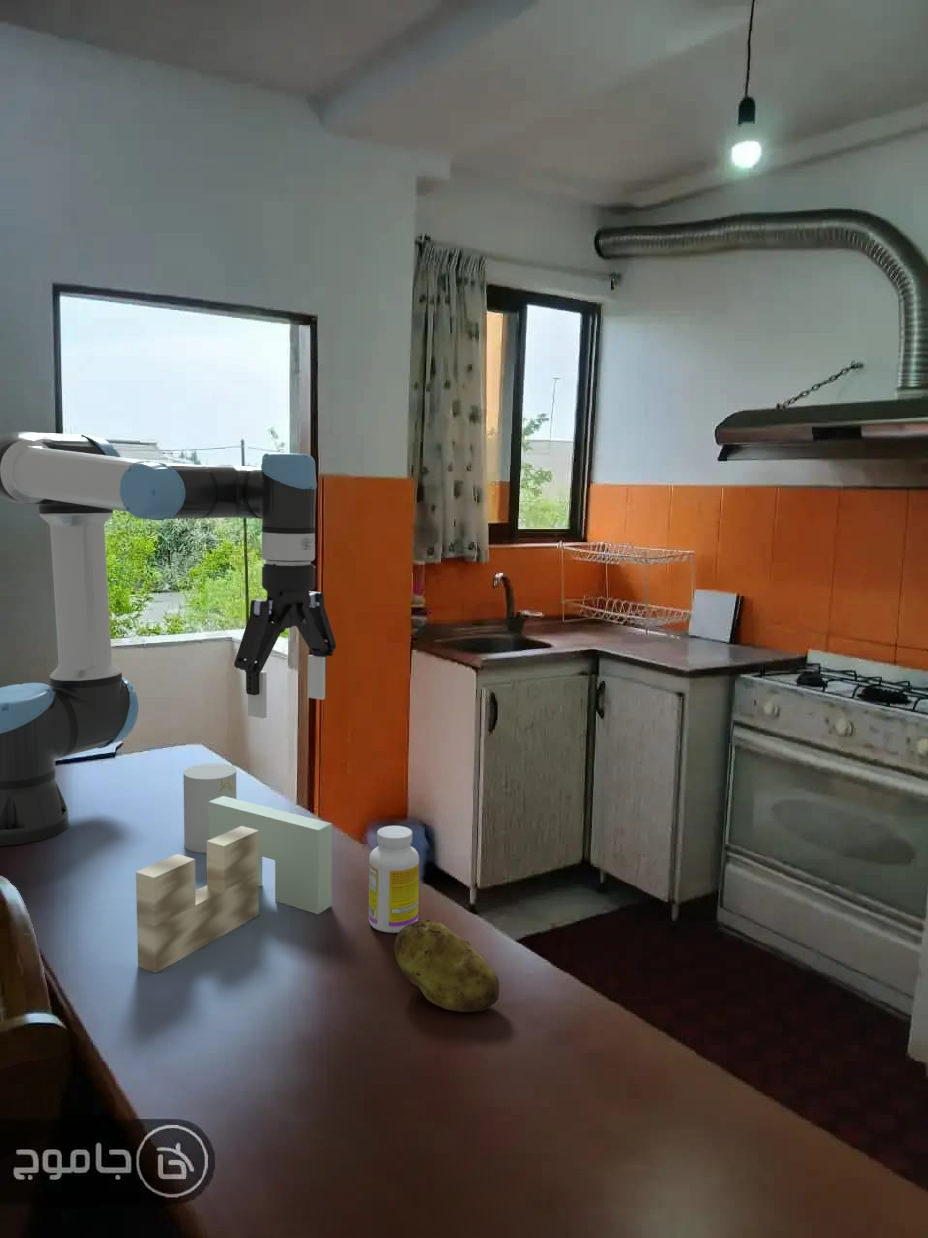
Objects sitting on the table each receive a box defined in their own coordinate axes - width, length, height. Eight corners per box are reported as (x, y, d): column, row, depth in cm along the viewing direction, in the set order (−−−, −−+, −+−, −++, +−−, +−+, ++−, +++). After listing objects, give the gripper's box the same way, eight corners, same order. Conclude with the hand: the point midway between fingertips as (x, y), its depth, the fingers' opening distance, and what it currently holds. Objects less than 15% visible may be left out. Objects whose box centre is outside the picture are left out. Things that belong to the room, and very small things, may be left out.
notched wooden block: (155, 973, 111) (153, 877, 109) (138, 966, 113) (135, 872, 111) (258, 915, 127) (258, 830, 125) (242, 909, 128) (241, 825, 126)
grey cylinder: (228, 853, 147) (228, 780, 145) (177, 851, 147) (176, 778, 145) (242, 834, 155) (241, 764, 153) (193, 832, 155) (192, 762, 153)
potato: (449, 1036, 101) (451, 966, 99) (382, 984, 110) (384, 920, 109) (507, 1011, 106) (510, 944, 104) (439, 963, 116) (440, 902, 114)
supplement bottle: (426, 918, 127) (429, 828, 125) (403, 939, 121) (405, 845, 119) (383, 908, 130) (385, 819, 128) (358, 927, 124) (360, 835, 122)
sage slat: (209, 880, 137) (208, 801, 135) (223, 873, 140) (223, 795, 138) (317, 914, 127) (318, 830, 126) (331, 906, 130) (332, 823, 128)
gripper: (250, 570, 121) (250, 729, 124) (360, 559, 143) (357, 694, 146) (206, 566, 125) (208, 720, 128) (320, 555, 147) (319, 688, 150)
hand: (288, 707), depth 137 cm, fingers open, 13 cm apart
